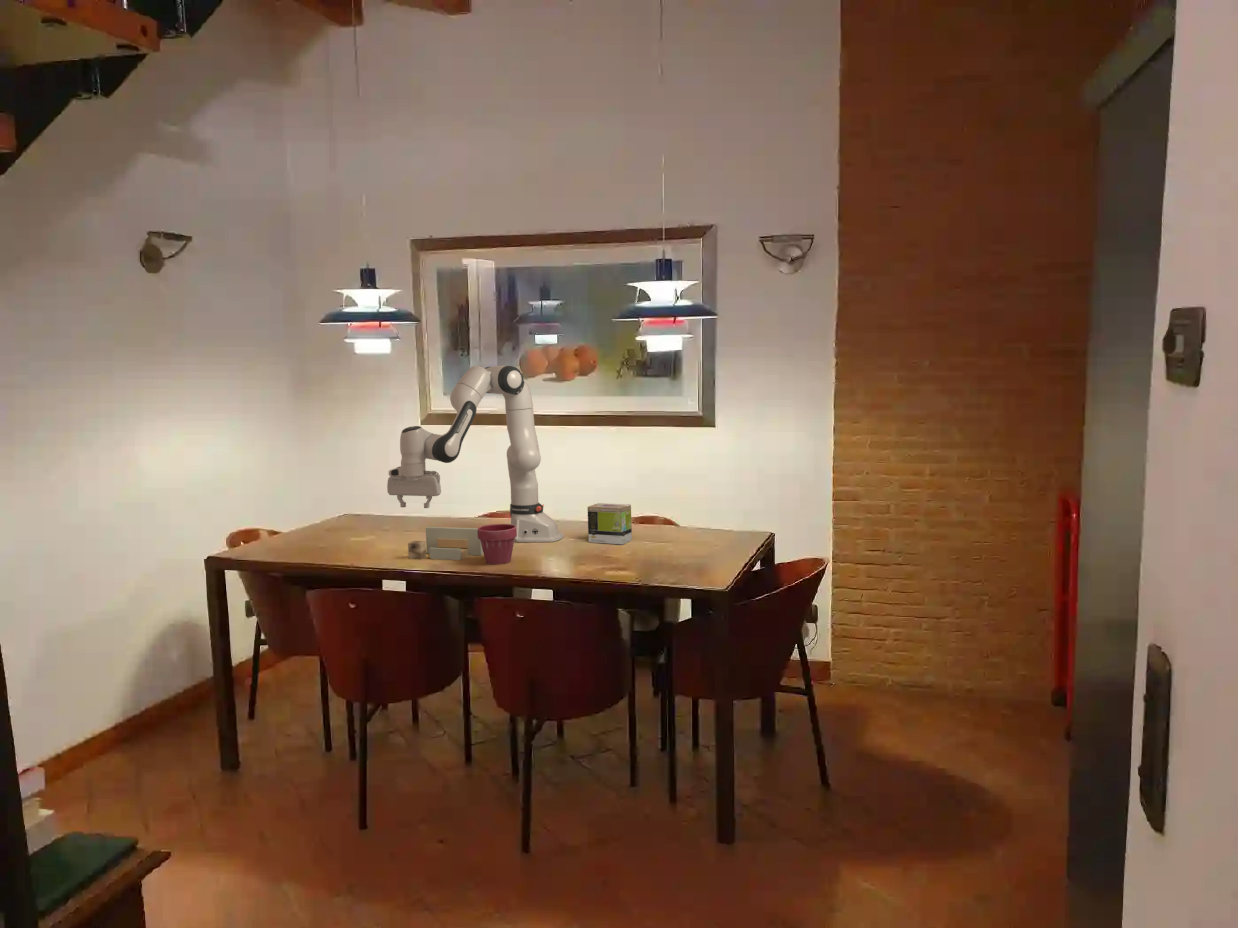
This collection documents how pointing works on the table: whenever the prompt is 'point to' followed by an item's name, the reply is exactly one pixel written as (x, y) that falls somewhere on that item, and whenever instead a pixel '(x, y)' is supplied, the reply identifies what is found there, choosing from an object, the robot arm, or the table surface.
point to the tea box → (609, 523)
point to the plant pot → (497, 542)
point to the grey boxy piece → (452, 542)
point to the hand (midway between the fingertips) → (415, 507)
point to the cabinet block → (417, 549)
